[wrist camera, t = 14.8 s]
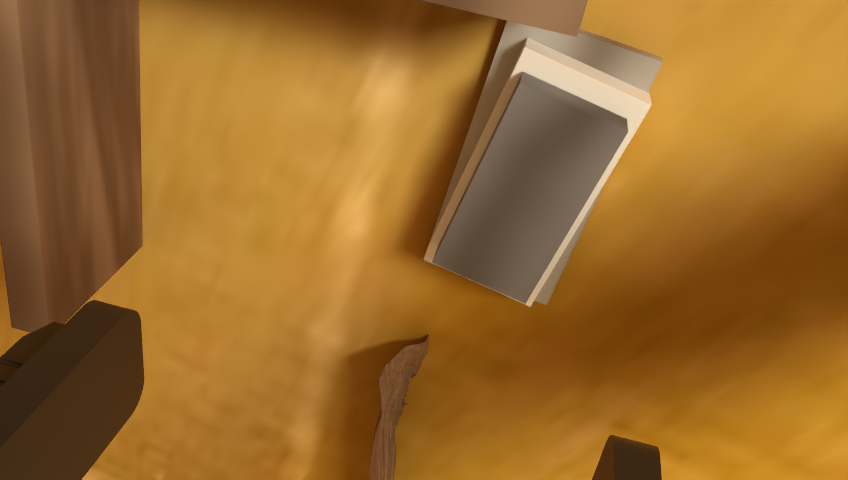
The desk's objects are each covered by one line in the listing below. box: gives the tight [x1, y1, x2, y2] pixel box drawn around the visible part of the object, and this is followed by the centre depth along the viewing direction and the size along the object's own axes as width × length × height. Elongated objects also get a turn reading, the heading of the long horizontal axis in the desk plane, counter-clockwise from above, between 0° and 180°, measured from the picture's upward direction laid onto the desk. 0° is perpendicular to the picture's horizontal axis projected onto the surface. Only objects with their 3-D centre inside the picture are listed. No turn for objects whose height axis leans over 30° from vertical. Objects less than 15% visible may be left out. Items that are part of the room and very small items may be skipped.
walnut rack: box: [0, 0, 587, 333], centre depth 35 cm, size 22×22×9 cm
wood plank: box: [370, 335, 429, 480], centre depth 47 cm, size 15×2×5 cm, turn 177°
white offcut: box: [424, 38, 651, 307], centre depth 37 cm, size 6×12×2 cm, turn 158°
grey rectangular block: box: [432, 72, 628, 304], centre depth 36 cm, size 5×10×2 cm, turn 159°
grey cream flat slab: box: [423, 21, 662, 305], centre depth 38 cm, size 7×14×2 cm, turn 164°
